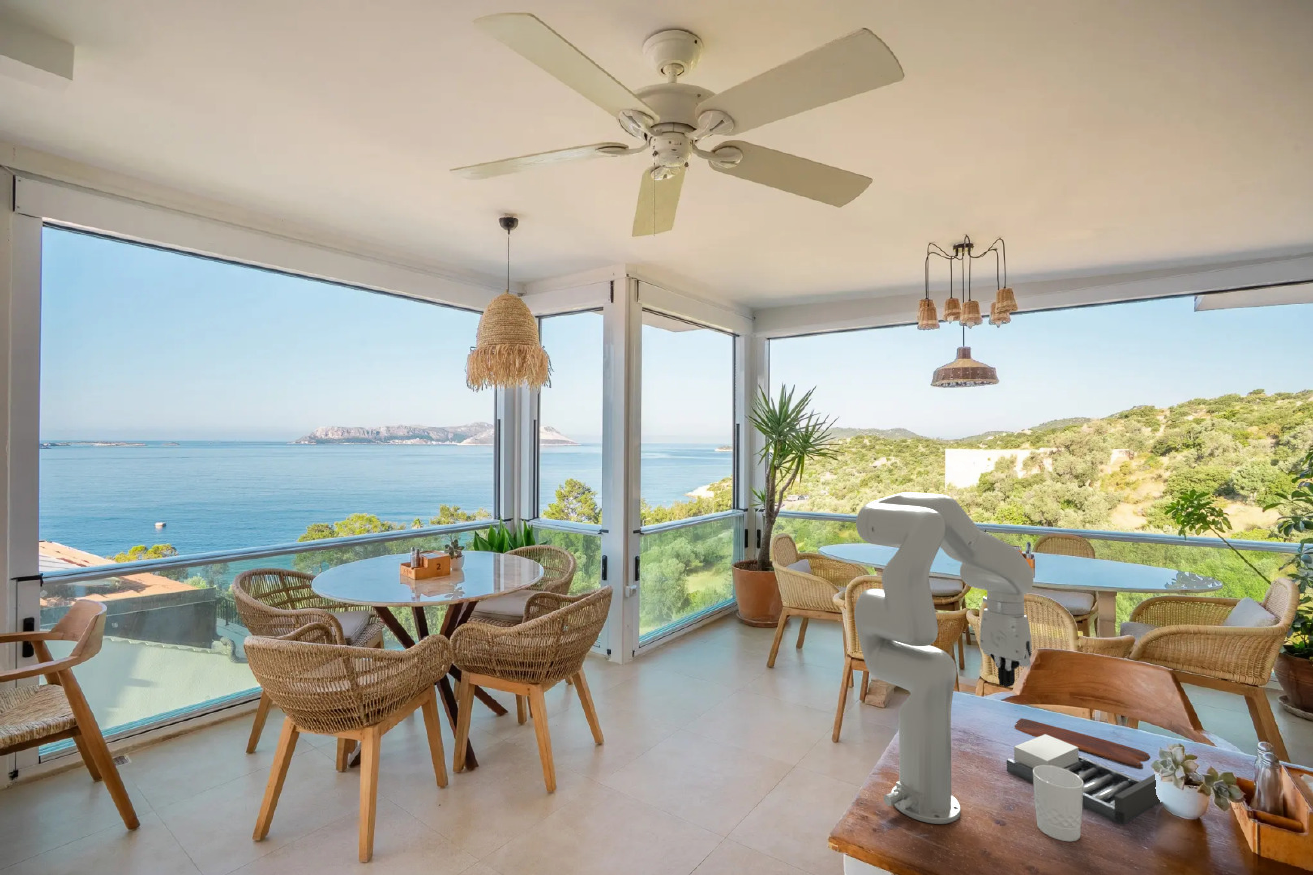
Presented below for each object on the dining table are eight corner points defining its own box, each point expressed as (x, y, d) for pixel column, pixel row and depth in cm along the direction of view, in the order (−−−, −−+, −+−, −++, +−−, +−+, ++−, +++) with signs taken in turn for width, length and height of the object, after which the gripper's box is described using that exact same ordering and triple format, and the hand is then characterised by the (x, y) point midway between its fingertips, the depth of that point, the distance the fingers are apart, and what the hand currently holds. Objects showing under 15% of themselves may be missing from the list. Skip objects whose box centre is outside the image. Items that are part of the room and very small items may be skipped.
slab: (1047, 775, 128) (1047, 760, 128) (1014, 760, 134) (1014, 746, 134) (1078, 760, 134) (1078, 747, 134) (1045, 747, 140) (1045, 733, 140)
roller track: (1122, 825, 114) (1121, 798, 114) (1006, 770, 134) (1006, 747, 134) (1162, 801, 122) (1162, 776, 122) (1048, 752, 141) (1047, 731, 141)
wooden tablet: (1151, 757, 140) (1150, 750, 141) (1142, 773, 134) (1142, 765, 134) (1022, 718, 160) (1022, 712, 160) (1008, 730, 153) (1008, 724, 153)
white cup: (1024, 816, 117) (1023, 764, 117) (1066, 817, 117) (1065, 765, 117) (1049, 843, 109) (1049, 787, 109) (1094, 844, 109) (1093, 788, 109)
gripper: (965, 601, 147) (966, 677, 147) (1028, 617, 134) (1029, 700, 134) (984, 597, 151) (985, 671, 151) (1047, 612, 138) (1049, 693, 137)
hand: (1006, 684), depth 142 cm, fingers closed
